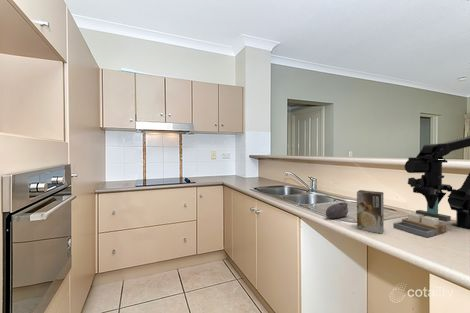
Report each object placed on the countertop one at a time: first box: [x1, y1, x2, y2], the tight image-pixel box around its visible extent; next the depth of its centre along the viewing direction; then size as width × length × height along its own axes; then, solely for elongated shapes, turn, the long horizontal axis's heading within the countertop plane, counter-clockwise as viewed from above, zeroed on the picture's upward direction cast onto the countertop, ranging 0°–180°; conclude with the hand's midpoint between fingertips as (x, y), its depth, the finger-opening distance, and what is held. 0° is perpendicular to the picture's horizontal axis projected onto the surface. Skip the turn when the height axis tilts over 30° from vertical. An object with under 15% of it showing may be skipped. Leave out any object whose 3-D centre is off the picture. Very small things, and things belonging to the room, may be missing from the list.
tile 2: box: [422, 216, 440, 226], centre depth 90 cm, size 4×4×2 cm
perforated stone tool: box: [325, 202, 349, 219], centre depth 109 cm, size 15×5×7 cm, turn 115°
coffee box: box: [356, 189, 385, 234], centre depth 92 cm, size 9×6×16 cm
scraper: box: [415, 198, 452, 223], centre depth 95 cm, size 3×11×10 cm, turn 24°
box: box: [392, 220, 436, 239], centre depth 90 cm, size 6×12×2 cm, turn 24°
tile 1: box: [407, 212, 424, 222], centre depth 95 cm, size 4×4×2 cm
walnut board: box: [401, 217, 447, 236], centre depth 93 cm, size 8×12×3 cm, turn 24°
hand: (432, 208), depth 95 cm, fingers closed on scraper, 2 cm apart
